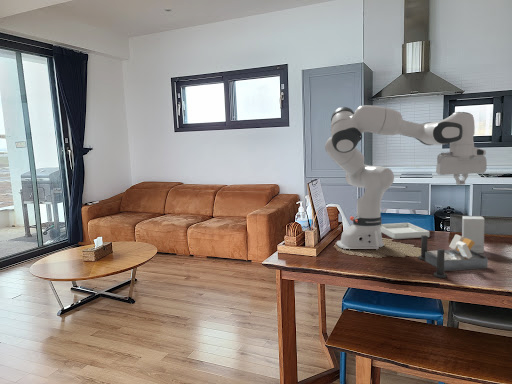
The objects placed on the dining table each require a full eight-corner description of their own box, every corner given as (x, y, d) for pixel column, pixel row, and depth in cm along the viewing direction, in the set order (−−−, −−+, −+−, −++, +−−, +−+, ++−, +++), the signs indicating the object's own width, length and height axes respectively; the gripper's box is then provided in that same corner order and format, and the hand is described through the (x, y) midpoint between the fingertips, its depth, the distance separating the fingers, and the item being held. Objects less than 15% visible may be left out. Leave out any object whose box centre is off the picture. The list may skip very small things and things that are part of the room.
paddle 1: (454, 249, 151) (461, 236, 150) (448, 246, 155) (455, 234, 154) (458, 251, 151) (465, 238, 150) (452, 248, 155) (459, 235, 154)
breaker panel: (443, 271, 141) (443, 259, 140) (424, 260, 154) (425, 250, 153) (487, 268, 143) (487, 256, 142) (465, 258, 155) (465, 247, 155)
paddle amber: (462, 252, 146) (471, 240, 145) (456, 249, 150) (465, 237, 149) (466, 255, 146) (475, 242, 146) (459, 252, 150) (468, 240, 150)
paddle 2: (468, 258, 141) (462, 245, 140) (461, 255, 145) (455, 243, 144) (472, 256, 141) (466, 243, 140) (465, 253, 145) (459, 240, 144)
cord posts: (435, 277, 134) (436, 251, 133) (417, 257, 159) (417, 234, 158) (448, 278, 134) (449, 251, 132) (427, 257, 158) (428, 234, 157)
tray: (394, 239, 189) (394, 233, 189) (376, 229, 211) (376, 224, 211) (429, 237, 191) (429, 231, 190) (408, 227, 213) (408, 222, 212)
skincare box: (482, 250, 166) (483, 216, 164) (484, 254, 160) (485, 219, 158) (460, 248, 169) (462, 215, 167) (462, 252, 163) (463, 218, 161)
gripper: (442, 152, 149) (441, 186, 151) (489, 150, 150) (488, 184, 152) (433, 152, 155) (432, 185, 157) (479, 150, 157) (478, 182, 158)
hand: (460, 184), depth 154 cm, fingers closed
